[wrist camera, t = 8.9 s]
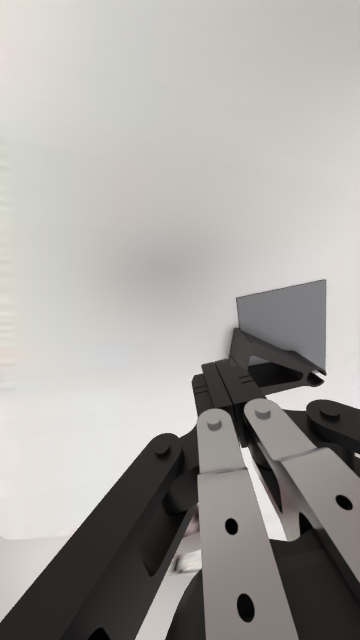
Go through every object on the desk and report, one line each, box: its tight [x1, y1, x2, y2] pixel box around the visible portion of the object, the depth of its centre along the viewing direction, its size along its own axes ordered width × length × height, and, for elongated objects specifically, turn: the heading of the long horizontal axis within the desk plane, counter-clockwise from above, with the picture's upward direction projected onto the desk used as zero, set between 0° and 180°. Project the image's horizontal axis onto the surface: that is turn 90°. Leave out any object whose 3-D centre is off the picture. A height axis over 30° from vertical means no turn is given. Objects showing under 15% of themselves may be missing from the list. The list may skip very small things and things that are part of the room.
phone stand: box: [229, 328, 327, 395], centre depth 30 cm, size 9×6×12 cm
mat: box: [236, 280, 326, 373], centre depth 32 cm, size 14×16×1 cm
